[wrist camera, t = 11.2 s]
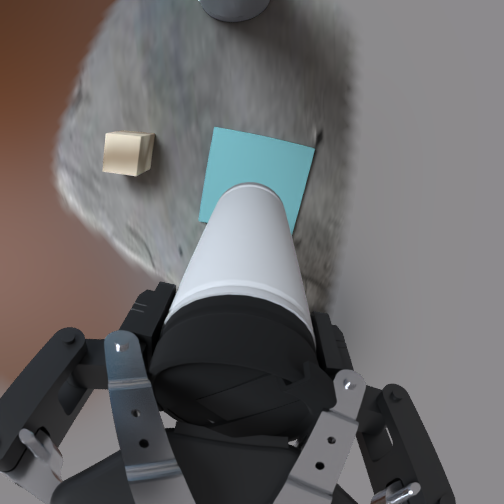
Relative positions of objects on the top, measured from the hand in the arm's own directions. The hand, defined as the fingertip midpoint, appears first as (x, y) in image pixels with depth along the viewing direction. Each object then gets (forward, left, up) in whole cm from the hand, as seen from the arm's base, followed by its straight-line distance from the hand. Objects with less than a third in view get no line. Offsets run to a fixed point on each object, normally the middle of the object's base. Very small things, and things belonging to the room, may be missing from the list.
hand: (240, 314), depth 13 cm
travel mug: (0, 0, -14) cm, 14 cm away
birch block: (-2, -17, -27) cm, 32 cm away
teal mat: (0, 0, -27) cm, 27 cm away
